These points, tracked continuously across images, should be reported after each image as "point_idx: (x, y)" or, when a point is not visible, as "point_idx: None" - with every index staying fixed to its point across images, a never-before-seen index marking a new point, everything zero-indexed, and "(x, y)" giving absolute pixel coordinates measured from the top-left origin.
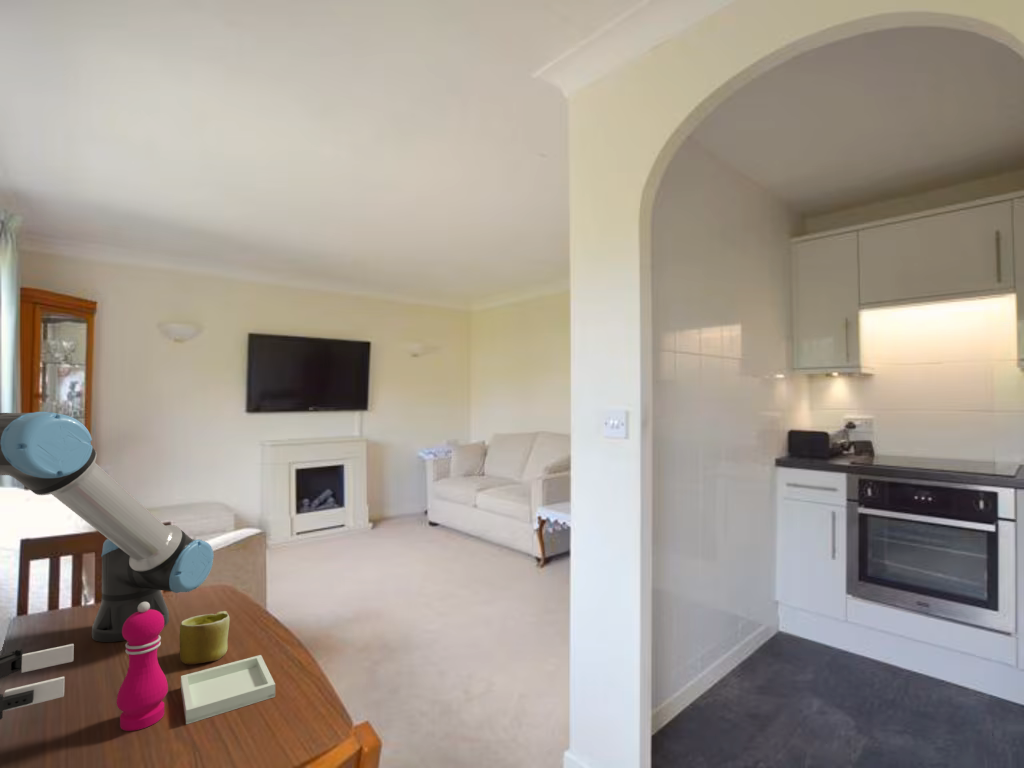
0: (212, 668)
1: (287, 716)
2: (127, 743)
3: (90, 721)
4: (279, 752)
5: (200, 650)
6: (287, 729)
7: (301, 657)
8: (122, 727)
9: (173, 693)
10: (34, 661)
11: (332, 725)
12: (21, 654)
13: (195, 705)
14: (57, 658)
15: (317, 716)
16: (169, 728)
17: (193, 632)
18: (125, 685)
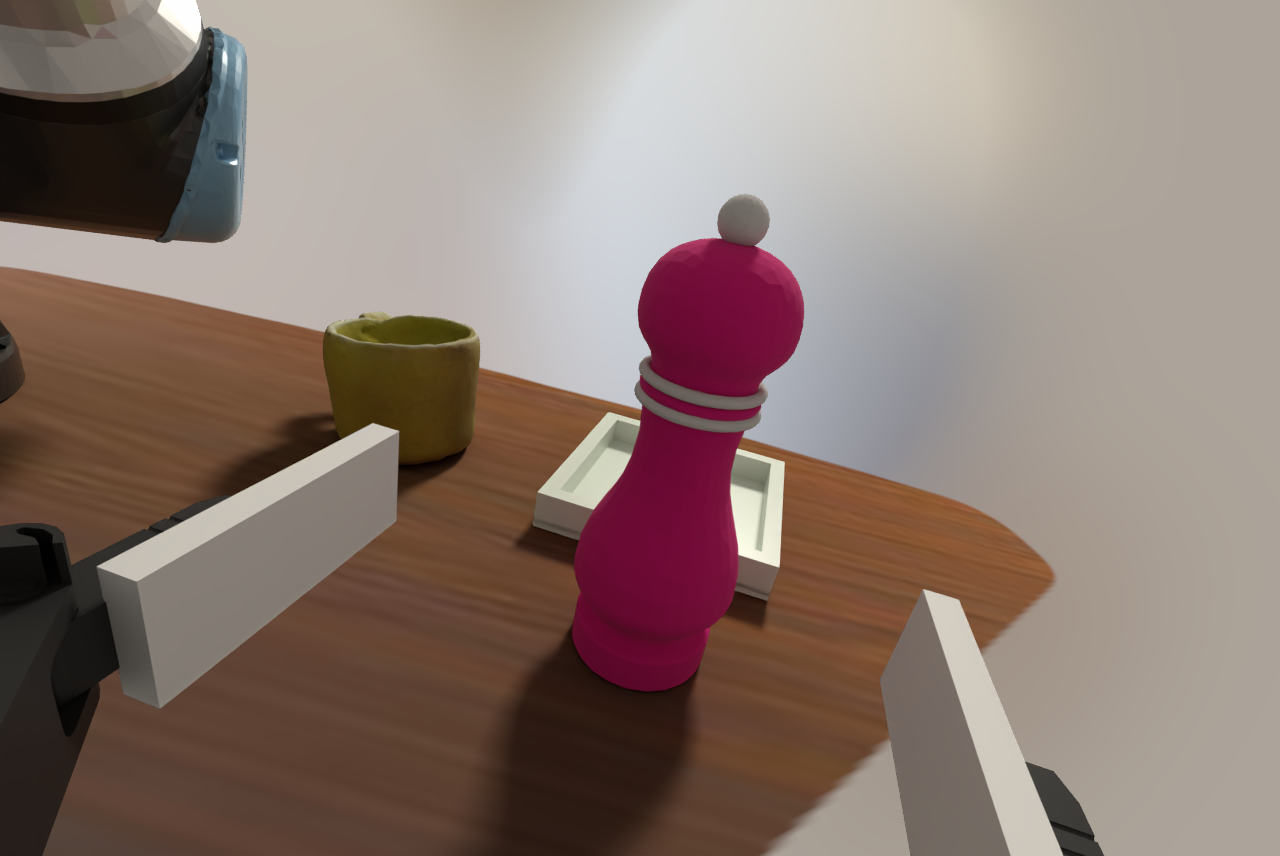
0: (574, 457)
1: (877, 515)
2: (761, 718)
3: (463, 728)
4: (1020, 578)
5: (457, 419)
6: (932, 537)
7: (639, 410)
8: (657, 686)
9: (543, 543)
10: (236, 589)
11: (958, 509)
12: (69, 572)
13: (766, 548)
14: (344, 526)
15: (910, 502)
16: (755, 626)
17: (440, 366)
18: (695, 552)
